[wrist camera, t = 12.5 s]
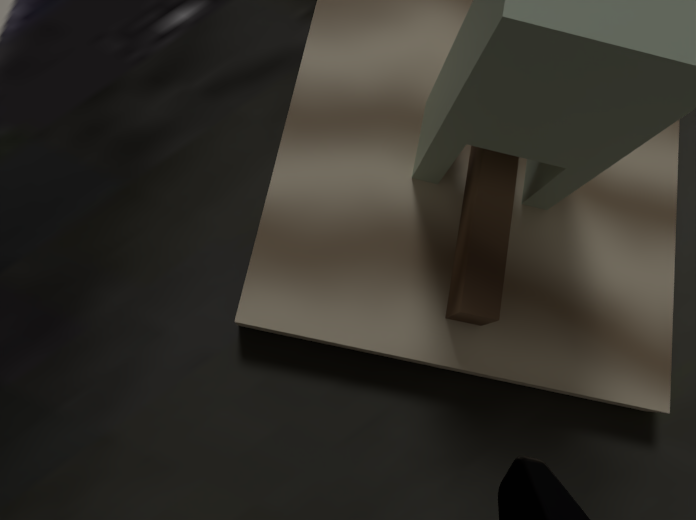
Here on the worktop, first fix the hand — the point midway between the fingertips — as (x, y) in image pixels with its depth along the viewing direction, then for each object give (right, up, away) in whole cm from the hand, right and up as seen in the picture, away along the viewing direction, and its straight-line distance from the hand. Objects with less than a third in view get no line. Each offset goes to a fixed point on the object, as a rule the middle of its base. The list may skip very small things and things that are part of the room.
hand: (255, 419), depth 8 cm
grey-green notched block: (+8, +8, +15) cm, 19 cm away
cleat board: (+8, +7, +17) cm, 20 cm away
